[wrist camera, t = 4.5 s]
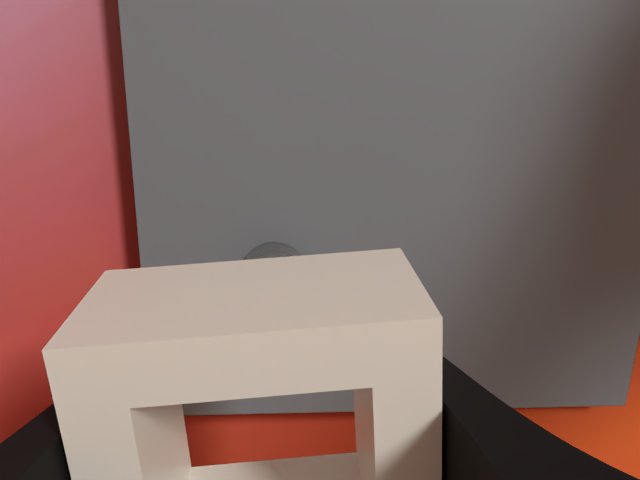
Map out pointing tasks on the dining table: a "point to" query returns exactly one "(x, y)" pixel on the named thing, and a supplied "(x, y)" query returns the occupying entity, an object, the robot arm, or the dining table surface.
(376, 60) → the board
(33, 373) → the dining table surface
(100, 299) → the ring
